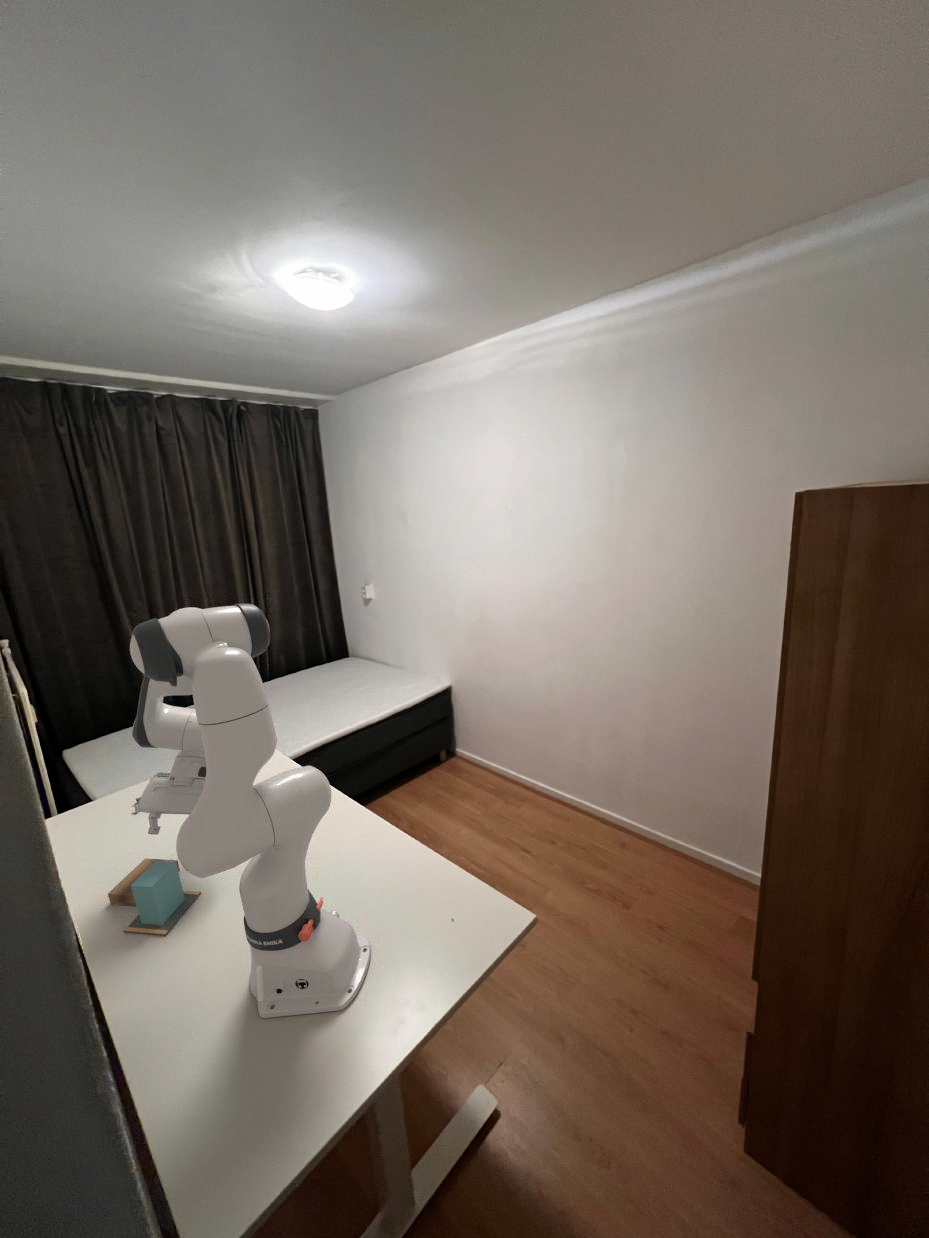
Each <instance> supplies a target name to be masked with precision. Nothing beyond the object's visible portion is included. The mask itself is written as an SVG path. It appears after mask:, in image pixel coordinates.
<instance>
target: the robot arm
mask: <svg viewBox="0 0 929 1238" xmlns="http://www.w3.org/2000/svg"><path fill="white" fill-rule="evenodd" d="M270 633H271V630H270V625H269V622H268V619H267V618H266V616H265V614H264V612H263V611H262V609H260V608H259V607H258V606H257V605H255V604H253V603H235V604H233V605H225V606H215V607H208V608H203V609H202V608H199V607H193V606H192V607H189V606H188V607H184V608H183V607H182V608H179V609H176V610H175V611H173V612H171V613H169V615H168V616H165V617H161V618H159V619H158V618H151V619H149V620H146V621H143V622H141V623H139V624H138V625H137V624H136V625H135V627H134V628H133V630H132V631H131V638H130V643H129V652H130V654H129V655H130V656H131V660H132V662H133V663H134V665H135V666H136V668H137V669H138V670H139V671H140V672H141V673H142V675H143V678H142V682H141V685H140V686H141V687H140V692H139V698H138V704H137V711H136V716H135V720H134V722H133V726H132V732H131V733H132V735H131V736H132V738H133V740H134V741H135V743H137V745H139V747H141V748H147V749H149V748H151V749H159V748H160V749H168V750H176V751H178V753H177V754H176V755H175V757H174V760H173V761H174V762H173V763H172V767H171V770H170V772H163V771H162V772H157V773H156V774H154V775H152V776H151V777H150V779H149V780H148V783H147V785H146V787H145V788H144V790H143V792H142V795H141V796H140V797H141V798H140V797H139V798H140V800H139V803H137V804H138V806H137V807H138V812H141V813H144V814H148V817H147V818H148V823H149V828H148V830H147V834H148V835H153V836H154V835H155V836H157V835H159V833H160V830H161V826H159V822H158V821H159V820H158V819H161V815H164V814H165V815H167V814H168V815H188V816H187V817H186V818H185V820H184V821H183V822H182V824H181V825H180V828H179V830H178V832H177V838H176V840H175V841H176V843H175V845H176V846H175V849H176V856H177V858H178V859H177V860H178V862H179V863H180V864H181V866H182V867H183V868H184V869H185V871H187V872H188V873H189V874H191V875H193V876H195V877H198V878H201V879H204V878H208V877H211V876H214V875H218V874H220V873H224V872H226V871H228V870H232V869H235V868H236V867H239V866H240V865H242V864H243V863H245V862H247V861H248V863H247V865H246V866H245V867H244V869H243V871H242V874H241V877H240V880H239V887H238V889H239V894H240V895H239V896H240V900H241V904H242V909H243V913H244V915H243V925H244V927H243V928H244V932H245V936H246V941H247V942H248V944H249V947H250V957H251V958H250V965H251V966H250V974H249V984H248V985H249V990H250V992H251V995H252V996H253V998H254V999H255V1000H256V1003H257V1012H258V1016H259V1017H260V1018H263V1019H267V1018H277V1017H287V1016H296V1015H306V1014H317V1013H327V1012H336V1011H342V1010H343V1009H345V1008H346V1007H347V1006H348V1005H350V1003H352V1001H353V1000H354V998H355V997H356V996H357V994H358V993H359V991H360V989H361V987H362V985H363V983H364V982H365V981H364V980H365V978H366V975H367V972H368V970H369V969H368V968H369V967H370V961H371V955H372V950H371V949H372V948H371V947H372V946H371V944H370V940H369V937H368V936H365V935H362V934H359V933H356V932H355V929H354V927H353V925H352V924H351V923H349V922H348V921H346V920H344V919H342V918H340V914H339V913H338V912H337V911H335V910H331V911H327V910H326V909H324V908H322V907H323V904H324V900H323V899H324V898H323V897H320V899H319V901H318V902H317V900H316V899H315V897H314V896H313V894H312V893H311V892H310V890H309V888H308V881H307V875H306V874H307V873H306V872H307V871H306V857H307V854H308V850H309V845H310V843H311V841H312V838H313V834H314V833H315V831H316V829H317V827H318V826H319V824H320V822H321V820H322V819H323V817H325V815H326V814H327V812H328V811H329V809H330V807H331V802H332V787H331V784H330V781H329V780H328V778H327V776H326V775H325V774H324V773H323V771H321V770H319V769H318V768H316V767H315V766H313V765H305V766H304V765H303V766H300V767H295V768H292V769H288V770H285V771H282V772H280V773H277V774H276V775H273V776H271V777H270V778H267V779H264V780H263V781H260V782H258V783H255V780H256V778H257V776H258V774H259V772H261V769H263V767H264V766H265V765H266V764H267V763H268V762H269V761H270V760H271V759H272V757H273V755H274V754H275V752H276V748H277V745H278V738H277V737H278V736H277V733H276V732H277V731H276V729H275V724H274V720H273V715H272V712H271V707H270V703H269V700H268V695H267V692H266V688H265V686H264V685H265V684H264V683H263V680H262V677H261V675H260V672H259V670H258V668H257V665H256V664H255V662H254V658H255V657H257V656H260V655H262V654H264V652H266V651H267V649H268V647H269V646H270V642H271V634H270ZM191 695H192V698H193V699H192V700H193V705H194V708H190V707H183V706H175V705H170V704H167V703H164V697H168V696H170V697H171V696H191ZM254 783H255V784H254Z"/></svg>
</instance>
